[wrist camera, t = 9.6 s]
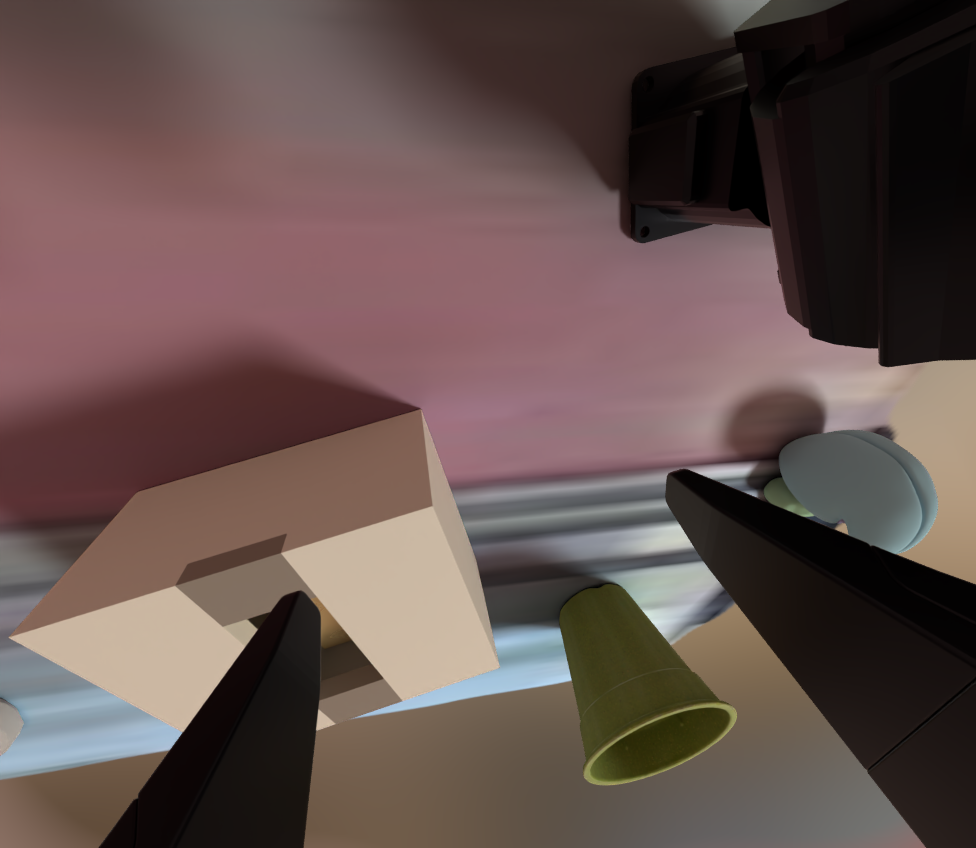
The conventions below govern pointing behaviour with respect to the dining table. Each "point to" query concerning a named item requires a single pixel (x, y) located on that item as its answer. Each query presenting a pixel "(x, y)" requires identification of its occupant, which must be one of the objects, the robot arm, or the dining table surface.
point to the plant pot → (634, 691)
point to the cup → (8, 725)
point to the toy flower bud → (857, 487)
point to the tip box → (279, 577)
